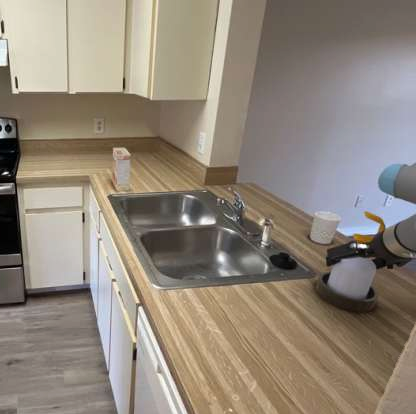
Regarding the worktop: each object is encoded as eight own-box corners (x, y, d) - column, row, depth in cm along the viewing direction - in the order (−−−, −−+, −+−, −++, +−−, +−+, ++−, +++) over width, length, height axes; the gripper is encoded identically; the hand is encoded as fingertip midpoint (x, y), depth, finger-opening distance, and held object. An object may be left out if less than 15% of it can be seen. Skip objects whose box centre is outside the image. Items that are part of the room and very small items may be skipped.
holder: (366, 287, 97) (370, 278, 96) (380, 317, 86) (385, 306, 84) (312, 276, 102) (315, 267, 101) (319, 303, 91) (323, 293, 90)
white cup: (303, 235, 127) (309, 212, 123) (321, 234, 128) (328, 210, 124) (319, 246, 119) (327, 221, 115) (338, 244, 121) (346, 219, 117)
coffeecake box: (112, 181, 186) (112, 147, 178) (124, 181, 186) (125, 147, 178) (116, 191, 172) (116, 154, 164) (129, 190, 173) (131, 154, 165)
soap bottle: (325, 280, 99) (349, 205, 90) (362, 289, 95) (392, 212, 85) (326, 296, 92) (353, 217, 83) (366, 308, 88) (400, 225, 78)
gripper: (345, 252, 74) (305, 271, 95) (465, 265, 69) (396, 283, 90) (342, 220, 77) (303, 246, 97) (458, 231, 72) (392, 256, 92)
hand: (348, 264), depth 93 cm, fingers open, 9 cm apart
